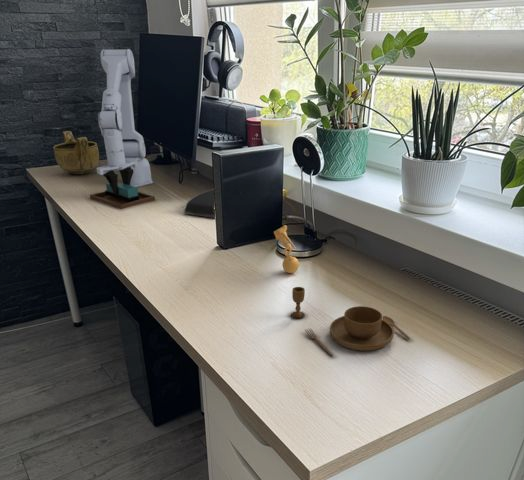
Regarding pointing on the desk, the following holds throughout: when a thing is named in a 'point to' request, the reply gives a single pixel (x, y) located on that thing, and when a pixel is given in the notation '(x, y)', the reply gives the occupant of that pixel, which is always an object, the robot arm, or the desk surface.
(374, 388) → the desk surface
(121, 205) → the tray
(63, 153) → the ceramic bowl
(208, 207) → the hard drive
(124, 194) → the teal long block
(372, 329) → the place setting
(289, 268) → the figurine
